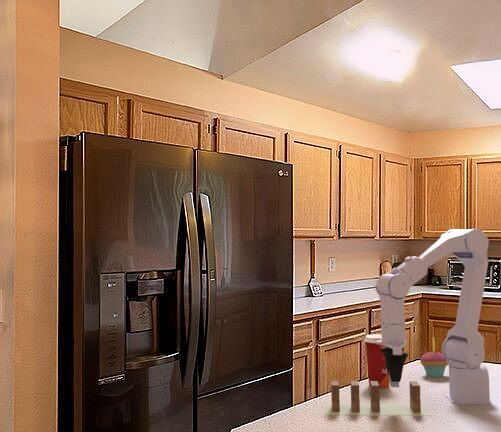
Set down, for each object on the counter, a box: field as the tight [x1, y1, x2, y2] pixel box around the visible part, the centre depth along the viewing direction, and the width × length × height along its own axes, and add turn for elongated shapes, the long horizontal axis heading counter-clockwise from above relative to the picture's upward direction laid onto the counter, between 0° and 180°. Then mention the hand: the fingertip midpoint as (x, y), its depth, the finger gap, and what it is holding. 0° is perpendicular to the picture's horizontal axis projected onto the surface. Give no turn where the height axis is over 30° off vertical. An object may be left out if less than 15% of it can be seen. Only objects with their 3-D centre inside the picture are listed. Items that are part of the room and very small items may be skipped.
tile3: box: [369, 381, 381, 412], centre depth 149 cm, size 2×4×6 cm, turn 174°
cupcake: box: [419, 334, 449, 378], centre depth 184 cm, size 9×8×12 cm
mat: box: [323, 403, 432, 417], centre depth 149 cm, size 25×9×1 cm, turn 84°
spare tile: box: [389, 374, 400, 388], centre depth 149 cm, size 2×4×6 cm, turn 174°
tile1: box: [409, 380, 422, 413], centre depth 148 cm, size 2×4×6 cm, turn 174°
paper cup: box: [364, 333, 390, 389], centre depth 173 cm, size 8×8×14 cm
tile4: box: [350, 380, 361, 412], centre depth 149 cm, size 2×4×6 cm, turn 174°
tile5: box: [330, 380, 341, 412], centre depth 150 cm, size 2×4×6 cm, turn 174°
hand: (394, 379), depth 148 cm, fingers closed on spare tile, 4 cm apart
